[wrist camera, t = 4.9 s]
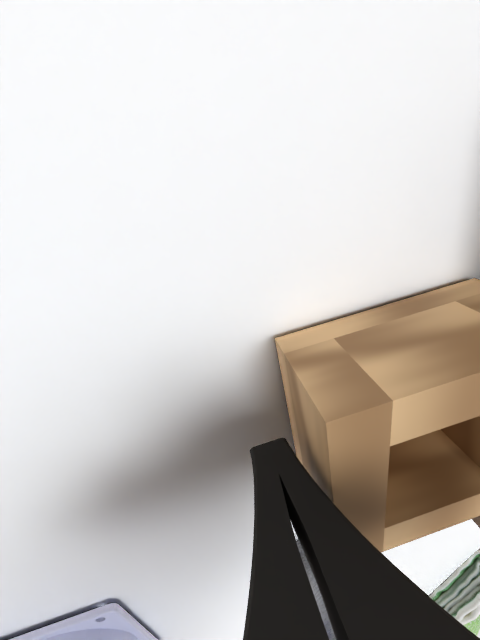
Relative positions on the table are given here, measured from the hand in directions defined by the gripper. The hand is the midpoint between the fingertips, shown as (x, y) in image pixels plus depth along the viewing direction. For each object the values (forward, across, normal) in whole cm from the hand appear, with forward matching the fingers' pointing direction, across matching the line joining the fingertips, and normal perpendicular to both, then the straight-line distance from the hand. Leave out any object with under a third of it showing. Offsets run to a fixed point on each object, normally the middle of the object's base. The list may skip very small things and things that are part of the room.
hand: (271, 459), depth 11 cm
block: (+2, -5, 0) cm, 6 cm away
